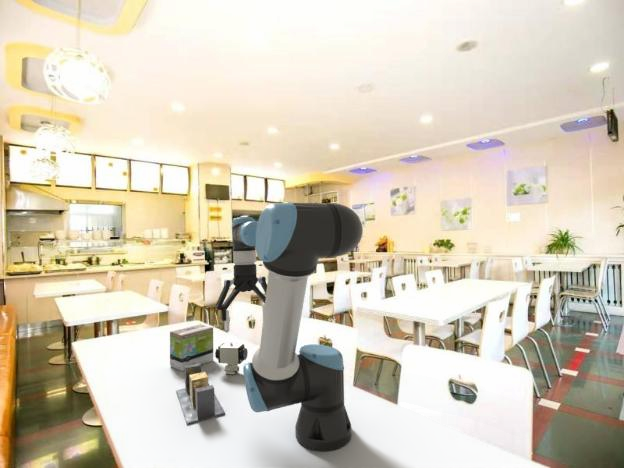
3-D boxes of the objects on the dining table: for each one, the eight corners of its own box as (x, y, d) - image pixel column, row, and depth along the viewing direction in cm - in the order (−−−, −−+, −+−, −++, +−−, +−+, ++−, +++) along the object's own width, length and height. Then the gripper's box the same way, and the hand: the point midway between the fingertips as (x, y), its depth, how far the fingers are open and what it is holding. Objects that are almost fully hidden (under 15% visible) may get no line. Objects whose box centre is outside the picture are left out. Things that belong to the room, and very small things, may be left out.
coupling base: (225, 414, 104) (224, 386, 104) (187, 424, 99) (186, 395, 99) (208, 384, 125) (207, 361, 125) (176, 391, 120) (175, 367, 120)
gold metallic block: (209, 403, 110) (209, 378, 110) (193, 407, 108) (192, 382, 108) (204, 393, 117) (204, 370, 117) (189, 397, 115) (188, 373, 115)
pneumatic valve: (243, 376, 132) (242, 345, 132) (215, 374, 134) (214, 344, 134) (249, 370, 137) (248, 340, 137) (221, 369, 140) (221, 339, 140)
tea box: (183, 372, 138) (182, 335, 138) (169, 366, 144) (168, 331, 144) (214, 360, 150) (213, 326, 150) (200, 355, 156) (199, 323, 156)
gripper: (273, 261, 125) (275, 319, 125) (204, 265, 112) (206, 331, 112) (283, 261, 119) (285, 323, 119) (210, 266, 106) (212, 336, 105)
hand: (246, 327), depth 115 cm, fingers open, 13 cm apart
